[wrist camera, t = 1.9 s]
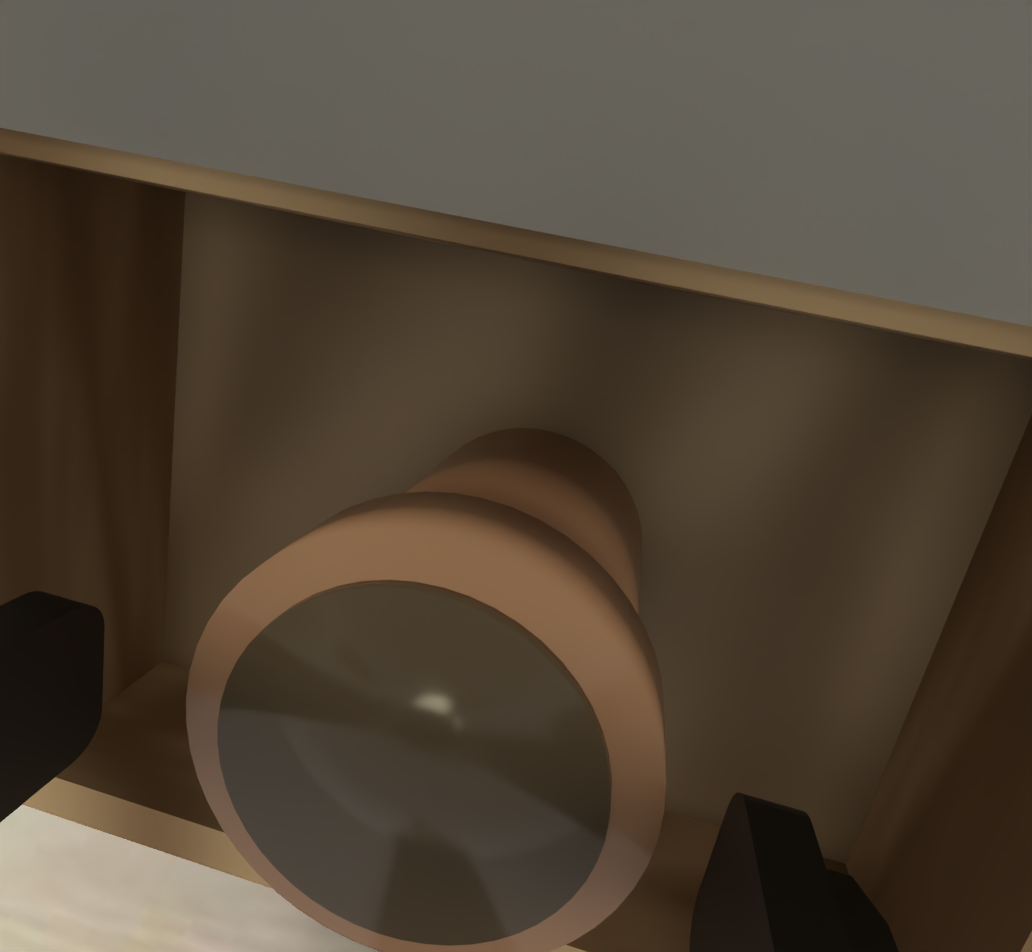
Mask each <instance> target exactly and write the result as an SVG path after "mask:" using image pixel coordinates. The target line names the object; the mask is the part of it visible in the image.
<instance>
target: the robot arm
mask: <svg viewBox="0 0 1032 952" xmlns="http://www.w3.org/2000/svg"><path fill="white" fill-rule="evenodd" d="M104 631H105V624H104V618H103V615H102V613H101V611H100V610H99V609H98V608H96V607H95V606H92V605H88V604H85V603H81V602H78V601H74V600H71V599H67V598H64V597H60V596H57V595H53V594H50V593H46V592H42V591H33V592H29V593H26V594H24V595H21V596H19V597H17V598H15V599H13V600H11V601H9V602H7V603H5V604H3V605H1V606H0V822H1V821H2V820H4V819H5V818H6V817H7V816H9V815H10V814H11V813H12V812H13V811H15V810H16V809H17V808H18V807H19V806H21V805H22V804H23V803H24V802H26V801H27V800H28V799H29V798H30V797H32V796H33V795H34V794H35V793H37V792H38V791H39V790H40V789H41V788H43V787H44V786H45V785H46V784H48V783H49V782H50V781H51V780H52V779H54V778H55V777H56V776H57V775H58V774H60V773H61V772H62V771H63V770H65V769H66V768H67V767H68V766H69V765H71V764H72V763H73V762H74V761H75V760H76V759H77V758H78V757H79V756H80V755H81V754H82V753H83V751H84V750H85V749H86V748H87V746H88V745H89V743H90V742H91V740H92V738H93V736H94V734H95V732H96V730H97V728H98V725H99V722H100V718H101V714H102V697H103V664H104ZM690 952H899V951H898V949H897V946H896V943H895V941H894V938H893V936H892V933H891V930H890V928H889V925H888V923H887V922H886V921H885V919H884V918H883V917H882V915H881V914H880V913H879V912H878V910H877V909H876V908H875V906H874V905H873V904H872V902H871V901H870V900H869V898H868V897H867V896H866V894H865V893H864V892H863V890H862V889H861V888H860V886H859V885H858V884H857V882H856V881H855V880H854V878H853V877H852V876H850V875H846V874H843V873H840V872H836V871H833V870H829V869H826V866H825V863H824V860H823V857H822V853H821V850H820V847H819V844H818V841H817V837H816V834H815V831H814V828H813V825H812V822H811V819H810V817H809V816H808V814H807V813H806V812H805V811H802V810H799V809H795V808H792V807H788V806H785V805H781V804H778V803H774V802H771V801H767V800H764V799H760V798H757V797H753V796H750V795H746V794H743V793H739V792H738V793H736V794H735V795H734V796H733V797H732V799H731V801H730V803H729V805H728V808H727V810H726V813H725V816H724V819H723V822H722V825H721V828H720V830H719V833H718V836H717V839H716V842H715V845H714V848H713V851H712V854H711V857H710V859H709V862H708V865H707V868H706V871H705V874H704V877H703V880H702V883H701V886H700V888H699V891H698V895H697V898H696V902H695V906H694V911H693V917H692V924H691V933H690Z"/></svg>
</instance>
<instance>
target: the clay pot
mask: <svg viewBox="0 0 1032 952" xmlns="http://www.w3.org/2000/svg"><path fill="white" fill-rule="evenodd" d="M641 557H642V532H641V524H640V519H639V515H638V511H637V508H636V506H635V503H634V501H633V498H632V496H631V494H630V492H629V490H628V489H627V487H626V485H625V483H624V482H623V481H622V479H621V478H620V476H619V475H618V474H617V472H616V471H615V470H614V469H613V468H612V467H611V466H610V465H609V464H608V463H607V462H606V461H605V460H604V459H603V458H602V457H601V456H599V455H598V454H597V453H596V452H594V451H593V450H592V449H590V448H588V447H587V446H585V445H583V444H582V443H580V442H578V441H576V440H574V439H572V438H569V437H567V436H565V435H562V434H558V433H555V432H552V431H547V430H541V429H535V428H514V429H504V430H500V431H496V432H491V433H488V434H486V435H483V436H480V437H478V438H475V439H474V440H472V441H470V442H468V443H466V444H465V445H463V446H462V447H460V448H459V449H458V450H456V451H455V452H454V453H452V454H451V455H450V456H449V457H447V458H446V459H445V460H444V461H442V462H441V463H440V464H439V465H437V466H436V467H435V468H434V469H433V470H431V471H430V472H429V473H428V474H426V475H425V476H424V477H423V478H421V479H420V480H419V481H418V482H416V483H415V484H414V485H413V486H411V487H410V488H409V489H408V490H407V491H405V492H404V493H399V494H393V495H389V496H384V497H380V498H375V499H371V500H368V501H365V502H362V503H360V504H357V505H354V506H352V507H349V508H347V509H344V510H343V511H341V512H339V513H337V514H335V515H333V516H332V517H330V518H328V519H326V520H324V521H323V522H321V523H320V524H318V525H317V526H316V527H314V528H313V529H311V530H310V531H308V532H307V533H305V534H304V535H303V536H301V537H300V538H298V539H297V540H295V541H294V542H293V543H291V544H290V545H288V546H287V547H285V548H284V549H283V550H281V551H280V552H278V553H277V554H275V555H274V556H272V557H271V558H270V559H268V560H267V561H265V562H264V563H263V564H261V565H260V566H259V567H257V568H256V569H255V570H254V571H252V572H251V573H250V574H248V575H247V576H246V577H244V578H243V579H242V580H241V581H240V582H239V583H238V584H237V585H236V586H235V587H234V588H233V589H232V591H231V592H230V593H229V594H228V595H227V596H226V597H225V598H224V599H223V600H222V602H221V603H220V605H219V606H218V608H217V609H216V611H215V612H214V614H213V615H212V617H211V618H210V620H209V621H208V623H207V625H206V627H205V629H204V632H203V634H202V636H201V638H200V640H199V642H198V644H197V647H196V651H195V654H194V657H193V661H192V664H191V668H190V672H189V679H188V687H187V694H186V725H187V732H188V739H189V746H190V752H191V755H192V759H193V763H194V766H195V770H196V774H197V777H198V780H199V782H200V785H201V787H202V789H203V792H204V794H205V797H206V799H207V802H208V804H209V806H210V807H211V809H212V811H213V813H214V815H215V817H216V818H217V820H218V822H219V824H220V826H221V827H222V829H223V830H224V832H225V833H226V835H227V836H228V838H229V839H230V840H231V842H232V843H233V845H234V846H235V848H236V849H237V851H238V852H239V853H240V854H241V855H242V856H243V858H244V859H245V860H246V861H247V862H248V863H249V865H250V866H251V867H252V868H253V869H254V870H255V872H256V873H257V874H258V875H259V876H260V877H262V878H263V879H264V880H265V881H266V882H267V883H268V884H269V885H270V886H271V887H272V888H273V889H274V890H275V891H276V892H277V893H278V894H280V895H281V896H282V897H284V898H285V899H286V900H287V901H289V902H290V903H291V904H292V905H294V906H295V907H296V908H298V909H299V910H300V911H302V912H303V913H305V914H306V915H308V916H309V917H311V918H313V919H314V920H316V921H317V922H319V923H320V924H322V925H323V926H325V927H327V928H329V929H331V930H333V931H335V932H337V933H339V934H341V935H342V936H344V937H346V938H348V939H350V940H353V941H355V942H358V943H360V944H363V945H365V946H368V947H370V948H373V949H375V950H378V951H381V952H550V951H552V950H554V949H557V948H559V947H561V946H564V945H566V944H568V943H570V942H572V941H574V940H576V939H577V938H579V937H580V936H582V935H584V934H585V933H587V932H589V931H590V930H592V929H593V928H595V927H596V926H597V925H598V924H600V923H601V922H602V921H603V920H604V919H606V918H607V917H608V916H609V915H610V914H611V913H613V912H614V911H615V910H616V909H617V908H618V907H619V905H620V904H621V903H622V902H623V901H624V900H625V898H626V897H627V896H628V895H629V894H630V893H631V891H632V890H633V889H634V887H635V886H636V884H637V882H638V881H639V879H640V877H641V876H642V874H643V873H644V871H645V869H646V868H647V866H648V864H649V861H650V859H651V856H652V854H653V851H654V849H655V846H656V844H657V841H658V838H659V833H660V829H661V824H662V820H663V815H664V808H665V791H666V760H665V714H664V698H663V687H662V679H661V674H660V670H659V666H658V662H657V658H656V654H655V651H654V649H653V646H652V644H651V641H650V639H649V636H648V634H647V631H646V629H645V626H644V624H643V623H642V621H641V619H640V617H639V616H638V615H639V596H640V576H641Z"/></svg>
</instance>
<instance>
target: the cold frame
mask: <svg viewBox="0 0 1032 952" xmlns="http://www.w3.org/2000/svg"><path fill="white" fill-rule="evenodd" d="M514 428H535V429H541V430H547V431H552V432H555V433H558V434H562V435H565V436H567V437H569V438H572V439H574V440H576V441H578V442H580V443H582V444H583V445H585V446H587V447H588V448H590V449H592V450H593V451H594V452H596V453H597V454H598V455H599V456H601V457H602V458H603V459H604V460H605V461H606V462H607V463H608V464H609V465H610V466H611V467H612V468H613V469H614V470H615V471H616V472H617V474H618V475H619V476H620V478H621V479H622V481H623V482H624V483H625V485H626V487H627V489H628V490H629V492H630V494H631V496H632V498H633V501H634V503H635V506H636V508H637V511H638V515H639V519H640V524H641V532H642V557H641V576H640V596H639V615H638V616H639V617H640V619H641V621H642V623H643V624H644V626H645V629H646V631H647V634H648V636H649V639H650V641H651V644H652V646H653V649H654V651H655V654H656V658H657V662H658V666H659V670H660V674H661V679H662V687H663V698H664V714H665V760H666V791H665V808H664V815H663V820H662V824H661V829H660V833H659V838H658V841H657V844H656V846H655V849H654V851H653V854H652V856H651V859H650V861H649V864H648V866H647V868H646V869H645V871H644V873H643V874H642V876H641V877H640V879H639V881H638V882H637V884H636V886H635V887H634V889H633V890H632V891H631V893H630V894H629V895H628V896H627V897H626V898H625V900H624V901H623V902H622V903H621V904H620V905H619V907H618V908H617V909H616V910H615V911H614V912H613V913H611V914H610V915H609V916H608V917H607V918H606V919H604V920H603V921H602V922H601V923H600V924H598V925H597V926H596V927H595V928H593V929H592V930H590V931H589V932H587V933H585V934H584V935H582V936H580V937H579V938H577V939H576V940H574V941H572V942H570V943H568V944H566V945H564V946H561V947H559V948H557V949H554V950H552V951H550V952H690V933H691V924H692V917H693V911H694V906H695V902H696V898H697V895H698V891H699V888H700V886H701V883H702V880H703V877H704V874H705V871H706V868H707V865H708V862H709V859H710V857H711V854H712V851H713V848H714V845H715V842H716V839H717V836H718V833H719V830H720V828H721V825H722V822H723V819H724V816H725V813H726V810H727V808H728V805H729V803H730V801H731V799H732V797H733V796H734V795H735V794H736V793H738V792H739V793H743V794H746V795H750V796H753V797H757V798H760V799H764V800H767V801H771V802H774V803H778V804H781V805H785V806H788V807H792V808H795V809H799V810H802V811H805V812H806V813H807V814H808V816H809V817H810V819H811V822H812V825H813V828H814V831H815V834H816V837H817V841H818V844H819V847H820V850H821V853H822V857H823V860H824V863H825V866H826V869H829V870H833V871H836V872H840V873H843V874H846V875H850V876H852V877H853V878H854V880H855V881H856V882H857V884H858V885H859V886H860V888H861V889H862V890H863V892H864V893H865V894H866V896H867V897H868V898H869V900H870V901H871V902H872V904H873V905H874V906H875V908H876V909H877V910H878V912H879V913H880V914H881V915H882V917H883V918H884V919H885V921H886V922H887V923H888V925H889V928H890V930H891V933H892V936H893V938H894V941H895V943H896V946H897V949H898V951H899V952H1032V327H1030V326H1025V325H1020V324H1015V323H1010V322H1004V321H999V320H994V319H989V318H984V317H979V316H973V315H968V314H963V313H958V312H953V311H947V310H942V309H937V308H932V307H927V306H922V305H916V304H911V303H906V302H901V301H896V300H891V299H885V298H880V297H875V296H870V295H865V294H859V293H854V292H849V291H844V290H839V289H834V288H828V287H823V286H818V285H813V284H808V283H802V282H797V281H792V280H787V279H782V278H777V277H771V276H766V275H761V274H756V273H751V272H746V271H740V270H735V269H730V268H725V267H720V266H714V265H709V264H704V263H699V262H694V261H689V260H683V259H678V258H673V257H668V256H663V255H657V254H652V253H647V252H642V251H637V250H632V249H626V248H621V247H616V246H611V245H606V244H601V243H595V242H590V241H585V240H580V239H575V238H569V237H564V236H559V235H554V234H549V233H544V232H538V231H533V230H528V229H523V228H518V227H512V226H507V225H502V224H497V223H492V222H487V221H481V220H476V219H471V218H466V217H461V216H455V215H450V214H445V213H440V212H435V211H430V210H424V209H419V208H414V207H409V206H404V205H399V204H393V203H388V202H383V201H378V200H373V199H367V198H362V197H357V196H352V195H347V194H342V193H336V192H331V191H326V190H321V189H316V188H310V187H305V186H300V185H295V184H290V183H285V182H279V181H274V180H269V179H264V178H259V177H254V176H248V175H243V174H238V173H233V172H228V171H222V170H217V169H212V168H207V167H202V166H197V165H191V164H186V163H181V162H176V161H171V160H165V159H160V158H155V157H150V156H145V155H140V154H134V153H129V152H124V151H119V150H114V149H109V148H103V147H98V146H93V145H88V144H83V143H77V142H72V141H67V140H62V139H57V138H52V137H46V136H41V135H36V134H31V133H26V132H20V131H15V130H10V129H5V128H0V606H1V605H3V604H5V603H7V602H9V601H11V600H13V599H15V598H17V597H19V596H21V595H24V594H26V593H29V592H33V591H42V592H46V593H50V594H53V595H57V596H60V597H64V598H67V599H71V600H74V601H78V602H81V603H85V604H88V605H92V606H95V607H96V608H98V609H99V610H100V611H101V613H102V615H103V618H104V624H105V631H104V664H103V697H102V714H101V718H100V722H99V725H98V728H97V730H96V732H95V734H94V736H93V738H92V740H91V742H90V743H89V745H88V746H87V748H86V749H85V750H84V751H83V753H82V754H81V755H80V756H79V757H78V758H77V759H76V760H75V761H74V762H73V763H72V764H71V765H69V766H68V767H67V768H66V769H65V770H63V771H62V772H61V773H60V774H58V775H57V776H56V777H55V778H54V779H52V780H51V781H50V782H49V783H48V784H46V785H45V786H44V787H43V788H41V789H40V790H39V791H38V792H37V793H35V794H34V795H33V796H32V797H30V798H29V799H28V800H27V801H26V802H24V803H23V805H26V806H29V807H32V808H35V809H38V810H41V811H44V812H47V813H50V814H53V815H56V816H59V817H62V818H65V819H67V820H70V821H73V822H76V823H79V824H82V825H85V826H88V827H91V828H94V829H97V830H100V831H103V832H106V833H109V834H112V835H115V836H118V837H121V838H124V839H127V840H130V841H133V842H136V843H139V844H142V845H145V846H148V847H151V848H154V849H157V850H160V851H163V852H166V853H169V854H172V855H175V856H178V857H180V858H183V859H186V860H189V861H192V862H195V863H198V864H201V865H204V866H207V867H210V868H213V869H216V870H219V871H222V872H225V873H228V874H231V875H234V876H237V877H240V878H243V879H246V880H249V881H252V882H255V883H258V884H261V885H264V886H267V887H270V888H272V887H271V886H270V885H269V884H268V883H267V882H266V881H265V880H264V879H263V878H262V877H260V876H259V875H258V874H257V873H256V872H255V870H254V869H253V868H252V867H251V866H250V865H249V863H248V862H247V861H246V860H245V859H244V858H243V856H242V855H241V854H240V853H239V852H238V851H237V849H236V848H235V846H234V845H233V843H232V842H231V840H230V839H229V838H228V836H227V835H226V833H225V832H224V830H223V829H222V827H221V826H220V824H219V822H218V820H217V818H216V817H215V815H214V813H213V811H212V809H211V807H210V806H209V804H208V802H207V799H206V797H205V794H204V792H203V789H202V787H201V785H200V782H199V780H198V777H197V774H196V770H195V766H194V763H193V759H192V755H191V752H190V746H189V739H188V732H187V725H186V694H187V687H188V679H189V672H190V668H191V664H192V661H193V657H194V654H195V651H196V647H197V644H198V642H199V640H200V638H201V636H202V634H203V632H204V629H205V627H206V625H207V623H208V621H209V620H210V618H211V617H212V615H213V614H214V612H215V611H216V609H217V608H218V606H219V605H220V603H221V602H222V600H223V599H224V598H225V597H226V596H227V595H228V594H229V593H230V592H231V591H232V589H233V588H234V587H235V586H236V585H237V584H238V583H239V582H240V581H241V580H242V579H243V578H244V577H246V576H247V575H248V574H250V573H251V572H252V571H254V570H255V569H256V568H257V567H259V566H260V565H261V564H263V563H264V562H265V561H267V560H268V559H270V558H271V557H272V556H274V555H275V554H277V553H278V552H280V551H281V550H283V549H284V548H285V547H287V546H288V545H290V544H291V543H293V542H294V541H295V540H297V539H298V538H300V537H301V536H303V535H304V534H305V533H307V532H308V531H310V530H311V529H313V528H314V527H316V526H317V525H318V524H320V523H321V522H323V521H324V520H326V519H328V518H330V517H332V516H333V515H335V514H337V513H339V512H341V511H343V510H344V509H347V508H349V507H352V506H354V505H357V504H360V503H362V502H365V501H368V500H371V499H375V498H380V497H384V496H389V495H393V494H399V493H404V492H405V491H407V490H408V489H409V488H410V487H411V486H413V485H414V484H415V483H416V482H418V481H419V480H420V479H421V478H423V477H424V476H425V475H426V474H428V473H429V472H430V471H431V470H433V469H434V468H435V467H436V466H437V465H439V464H440V463H441V462H442V461H444V460H445V459H446V458H447V457H449V456H450V455H451V454H452V453H454V452H455V451H456V450H458V449H459V448H460V447H462V446H463V445H465V444H466V443H468V442H470V441H472V440H474V439H475V438H478V437H480V436H483V435H486V434H488V433H491V432H496V431H500V430H504V429H514Z"/></svg>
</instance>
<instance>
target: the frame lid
mask: <svg viewBox="0 0 1032 952" xmlns="http://www.w3.org/2000/svg"><path fill="white" fill-rule="evenodd" d="M0 128H5V129H10V130H15V131H20V132H26V133H31V134H36V135H41V136H46V137H52V138H57V139H62V140H67V141H72V142H77V143H83V144H88V145H93V146H98V147H103V148H109V149H114V150H119V151H124V152H129V153H134V154H140V155H145V156H150V157H155V158H160V159H165V160H171V161H176V162H181V163H186V164H191V165H197V166H202V167H207V168H212V169H217V170H222V171H228V172H233V173H238V174H243V175H248V176H254V177H259V178H264V179H269V180H274V181H279V182H285V183H290V184H295V185H300V186H305V187H310V188H316V189H321V190H326V191H331V192H336V193H342V194H347V195H352V196H357V197H362V198H367V199H373V200H378V201H383V202H388V203H393V204H399V205H404V206H409V207H414V208H419V209H424V210H430V211H435V212H440V213H445V214H450V215H455V216H461V217H466V218H471V219H476V220H481V221H487V222H492V223H497V224H502V225H507V226H512V227H518V228H523V229H528V230H533V231H538V232H544V233H549V234H554V235H559V236H564V237H569V238H575V239H580V240H585V241H590V242H595V243H601V244H606V245H611V246H616V247H621V248H626V249H632V250H637V251H642V252H647V253H652V254H657V255H663V256H668V257H673V258H678V259H683V260H689V261H694V262H699V263H704V264H709V265H714V266H720V267H725V268H730V269H735V270H740V271H746V272H751V273H756V274H761V275H766V276H771V277H777V278H782V279H787V280H792V281H797V282H802V283H808V284H813V285H818V286H823V287H828V288H834V289H839V290H844V291H849V292H854V293H859V294H865V295H870V296H875V297H880V298H885V299H891V300H896V301H901V302H906V303H911V304H916V305H922V306H927V307H932V308H937V309H942V310H947V311H953V312H958V313H963V314H968V315H973V316H979V317H984V318H989V319H994V320H999V321H1004V322H1010V323H1015V324H1020V325H1025V326H1030V327H1032V0H0Z"/></svg>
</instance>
